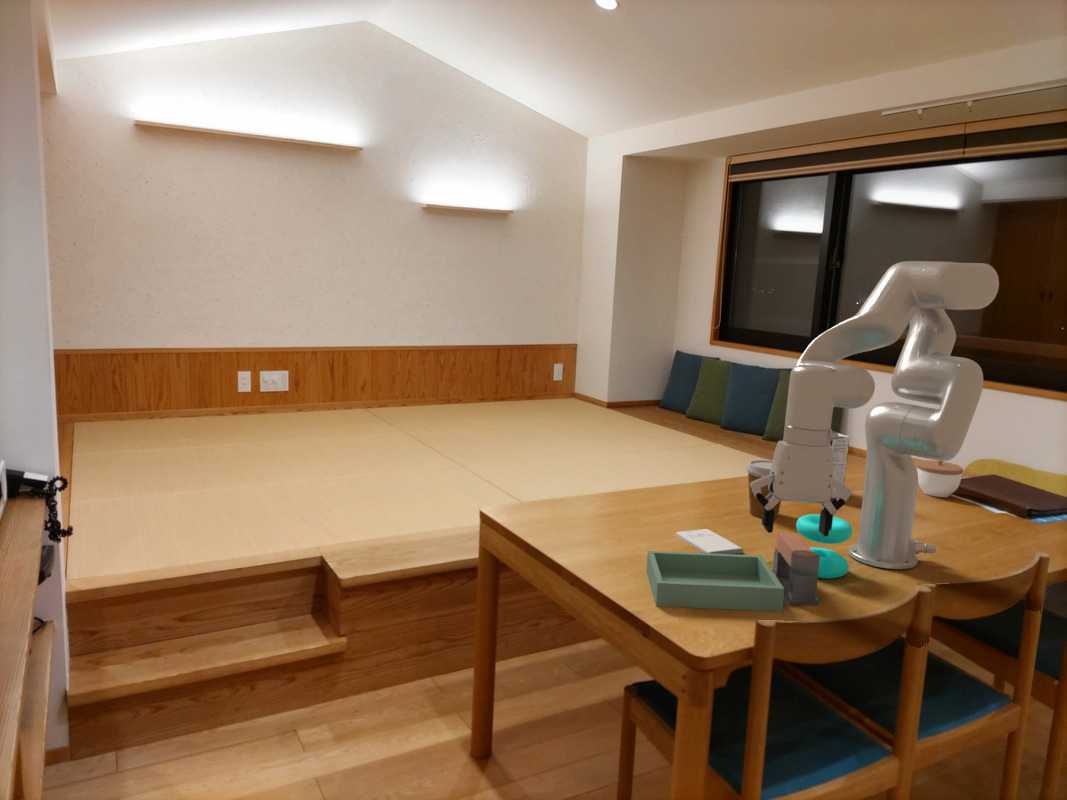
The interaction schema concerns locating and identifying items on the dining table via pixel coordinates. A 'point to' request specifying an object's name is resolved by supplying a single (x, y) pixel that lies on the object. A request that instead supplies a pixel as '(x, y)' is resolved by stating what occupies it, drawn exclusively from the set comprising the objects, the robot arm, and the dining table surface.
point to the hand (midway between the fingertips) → (795, 532)
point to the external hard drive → (709, 542)
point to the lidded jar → (938, 477)
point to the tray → (713, 581)
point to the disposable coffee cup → (755, 472)
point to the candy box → (839, 460)
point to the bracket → (795, 583)
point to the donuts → (829, 560)
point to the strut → (798, 554)
